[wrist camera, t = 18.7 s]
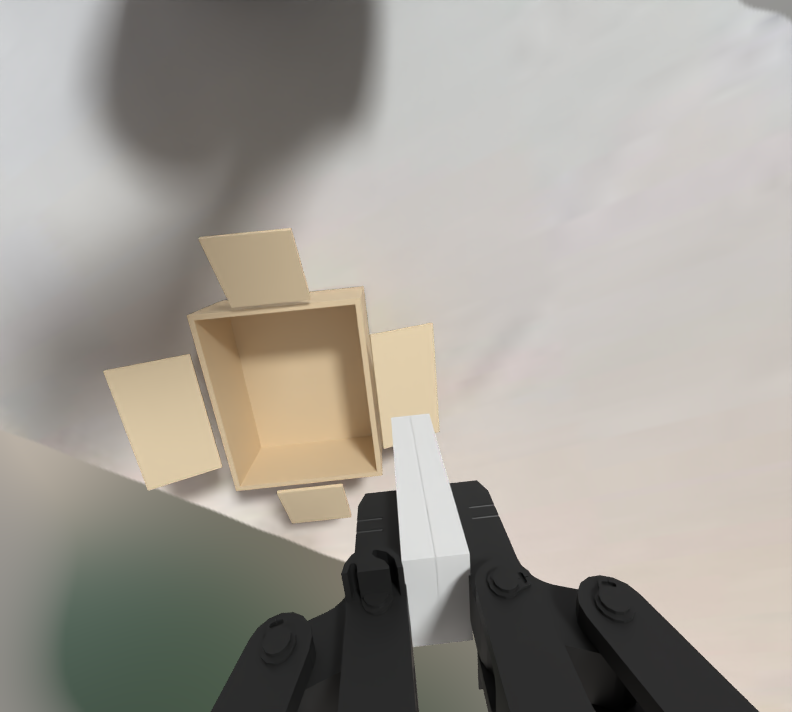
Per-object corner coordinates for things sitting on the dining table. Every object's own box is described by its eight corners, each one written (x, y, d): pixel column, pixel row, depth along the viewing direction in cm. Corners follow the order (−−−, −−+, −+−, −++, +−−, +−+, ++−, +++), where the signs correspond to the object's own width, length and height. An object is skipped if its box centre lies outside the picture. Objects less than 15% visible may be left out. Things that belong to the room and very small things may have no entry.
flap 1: (189, 354, 38) (189, 353, 38) (103, 371, 35) (104, 370, 36) (222, 467, 43) (222, 465, 43) (148, 490, 40) (148, 488, 40)
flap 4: (432, 323, 41) (431, 322, 42) (370, 335, 39) (369, 334, 39) (439, 431, 46) (437, 430, 46) (384, 449, 43) (382, 447, 43)
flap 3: (292, 523, 49) (292, 520, 49) (351, 517, 49) (351, 514, 49) (276, 493, 44) (277, 490, 45) (342, 486, 44) (342, 483, 45)
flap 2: (231, 307, 37) (232, 305, 37) (310, 299, 37) (310, 297, 37) (198, 239, 31) (199, 236, 32) (290, 230, 32) (291, 228, 32)
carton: (221, 300, 46) (186, 315, 38) (363, 286, 46) (360, 297, 38) (258, 449, 53) (236, 491, 45) (381, 436, 53) (382, 475, 45)
